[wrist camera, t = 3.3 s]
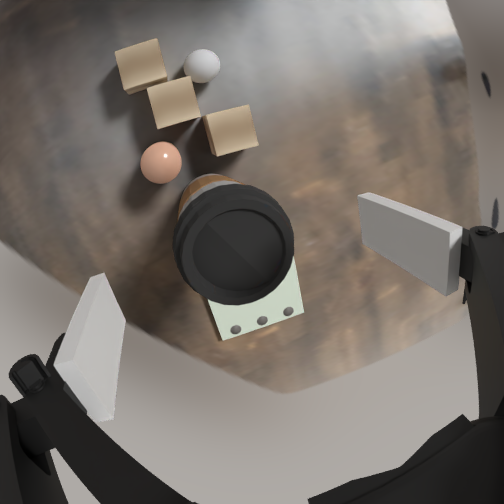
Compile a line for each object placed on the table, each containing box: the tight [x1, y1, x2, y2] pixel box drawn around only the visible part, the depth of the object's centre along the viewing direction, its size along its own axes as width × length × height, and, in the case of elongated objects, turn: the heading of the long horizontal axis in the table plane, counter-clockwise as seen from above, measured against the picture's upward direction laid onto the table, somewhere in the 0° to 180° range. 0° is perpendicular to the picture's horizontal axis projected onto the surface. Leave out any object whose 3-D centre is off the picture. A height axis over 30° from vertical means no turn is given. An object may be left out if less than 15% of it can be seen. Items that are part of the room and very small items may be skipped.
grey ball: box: [184, 49, 220, 83], centre depth 27 cm, size 4×4×4 cm
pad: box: [208, 256, 304, 340], centre depth 38 cm, size 12×11×1 cm
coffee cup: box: [173, 174, 294, 306], centre depth 27 cm, size 8×8×15 cm
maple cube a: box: [115, 38, 168, 95], centre depth 25 cm, size 4×4×4 cm
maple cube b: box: [147, 76, 201, 129], centre depth 28 cm, size 4×4×4 cm
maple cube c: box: [202, 105, 258, 156], centre depth 30 cm, size 4×4×4 cm
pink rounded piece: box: [141, 141, 181, 184], centre depth 29 cm, size 4×4×5 cm
